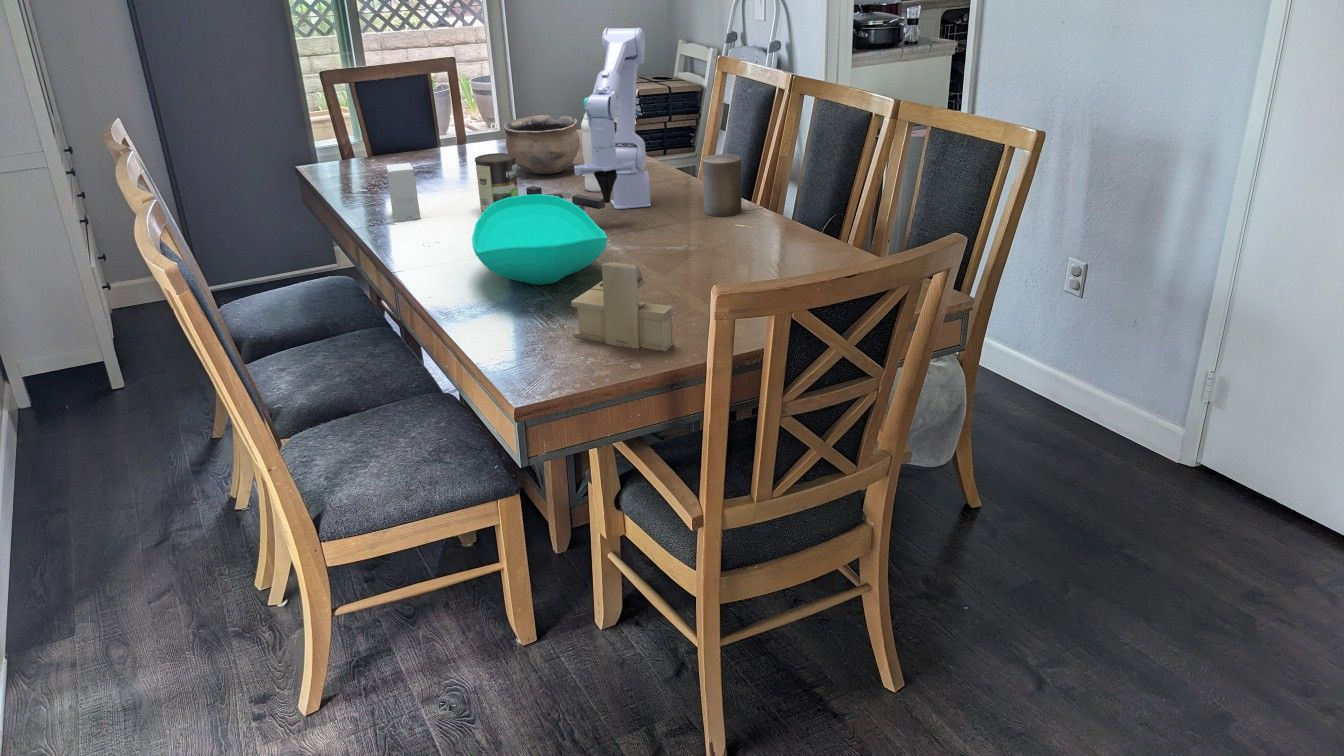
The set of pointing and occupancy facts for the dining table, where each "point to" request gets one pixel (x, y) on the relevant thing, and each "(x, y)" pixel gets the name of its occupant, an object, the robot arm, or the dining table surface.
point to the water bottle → (588, 154)
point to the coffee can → (496, 178)
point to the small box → (403, 192)
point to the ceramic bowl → (542, 143)
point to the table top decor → (536, 238)
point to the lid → (572, 198)
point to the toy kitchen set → (622, 312)
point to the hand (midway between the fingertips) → (606, 201)
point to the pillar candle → (722, 185)
